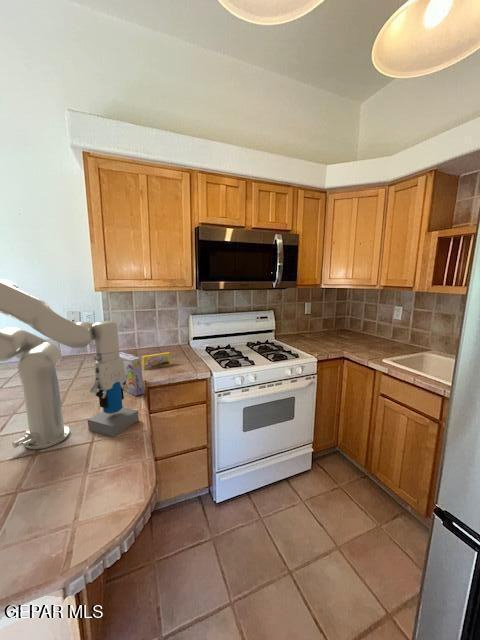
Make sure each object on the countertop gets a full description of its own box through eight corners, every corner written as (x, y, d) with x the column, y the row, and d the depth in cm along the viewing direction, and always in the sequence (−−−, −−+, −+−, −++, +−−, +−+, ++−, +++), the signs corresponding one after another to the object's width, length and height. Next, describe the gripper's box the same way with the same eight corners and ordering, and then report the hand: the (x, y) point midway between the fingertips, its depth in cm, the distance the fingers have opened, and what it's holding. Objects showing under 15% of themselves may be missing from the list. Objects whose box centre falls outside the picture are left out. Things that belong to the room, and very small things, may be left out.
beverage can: (117, 405, 104) (114, 375, 102) (126, 410, 100) (123, 379, 98) (100, 411, 99) (97, 380, 97) (108, 417, 95) (105, 384, 93)
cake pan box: (115, 386, 136) (112, 353, 133) (124, 383, 140) (121, 350, 137) (134, 397, 124) (132, 360, 121) (144, 393, 128) (142, 357, 125)
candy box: (143, 370, 161) (142, 356, 159) (142, 369, 162) (142, 356, 161) (170, 365, 169) (169, 352, 168) (169, 364, 171) (168, 351, 170)
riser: (112, 437, 93) (111, 426, 92) (88, 429, 97) (87, 419, 97) (138, 420, 104) (137, 410, 103) (115, 414, 108) (114, 405, 108)
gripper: (94, 364, 87) (99, 416, 90) (134, 350, 103) (137, 395, 106) (78, 361, 90) (83, 411, 93) (119, 348, 106) (123, 392, 109)
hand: (112, 402), depth 99 cm, fingers closed on beverage can, 6 cm apart
